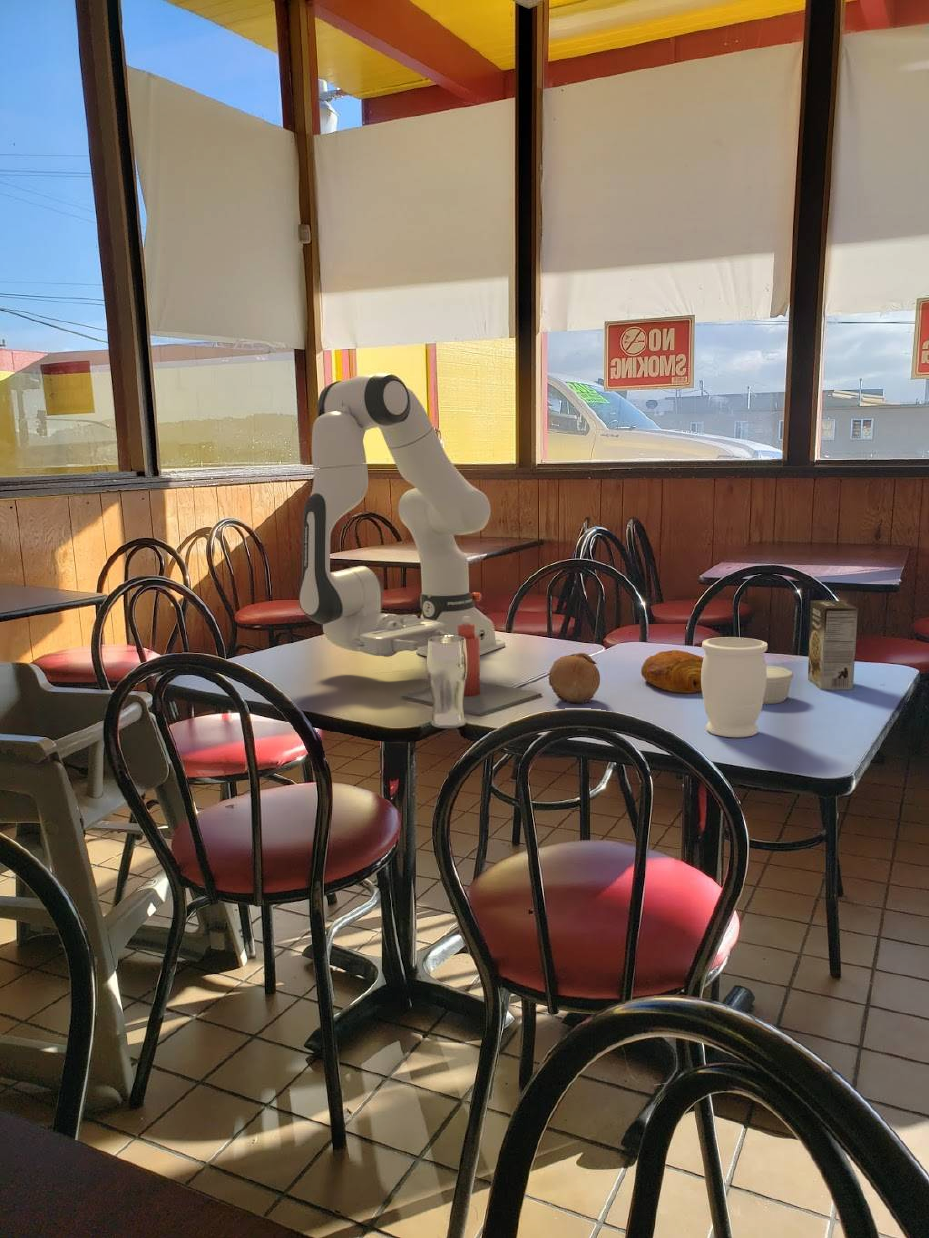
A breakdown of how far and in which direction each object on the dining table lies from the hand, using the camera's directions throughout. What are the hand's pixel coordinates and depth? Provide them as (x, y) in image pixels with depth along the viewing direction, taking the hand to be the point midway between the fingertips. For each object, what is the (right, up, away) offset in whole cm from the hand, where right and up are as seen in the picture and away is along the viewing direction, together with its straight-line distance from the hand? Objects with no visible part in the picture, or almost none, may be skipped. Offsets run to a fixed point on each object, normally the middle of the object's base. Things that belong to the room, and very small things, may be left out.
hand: (432, 642), depth 189 cm
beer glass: (+4, -14, -23) cm, 27 cm away
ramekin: (+62, -10, -10) cm, 63 cm away
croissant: (+49, -9, +1) cm, 50 cm away
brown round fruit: (+27, -11, -10) cm, 31 cm away
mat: (+8, -10, -6) cm, 14 cm away
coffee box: (+78, -8, -1) cm, 79 cm away
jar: (+51, -14, -31) cm, 61 cm away
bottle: (+7, -10, -5) cm, 13 cm away
